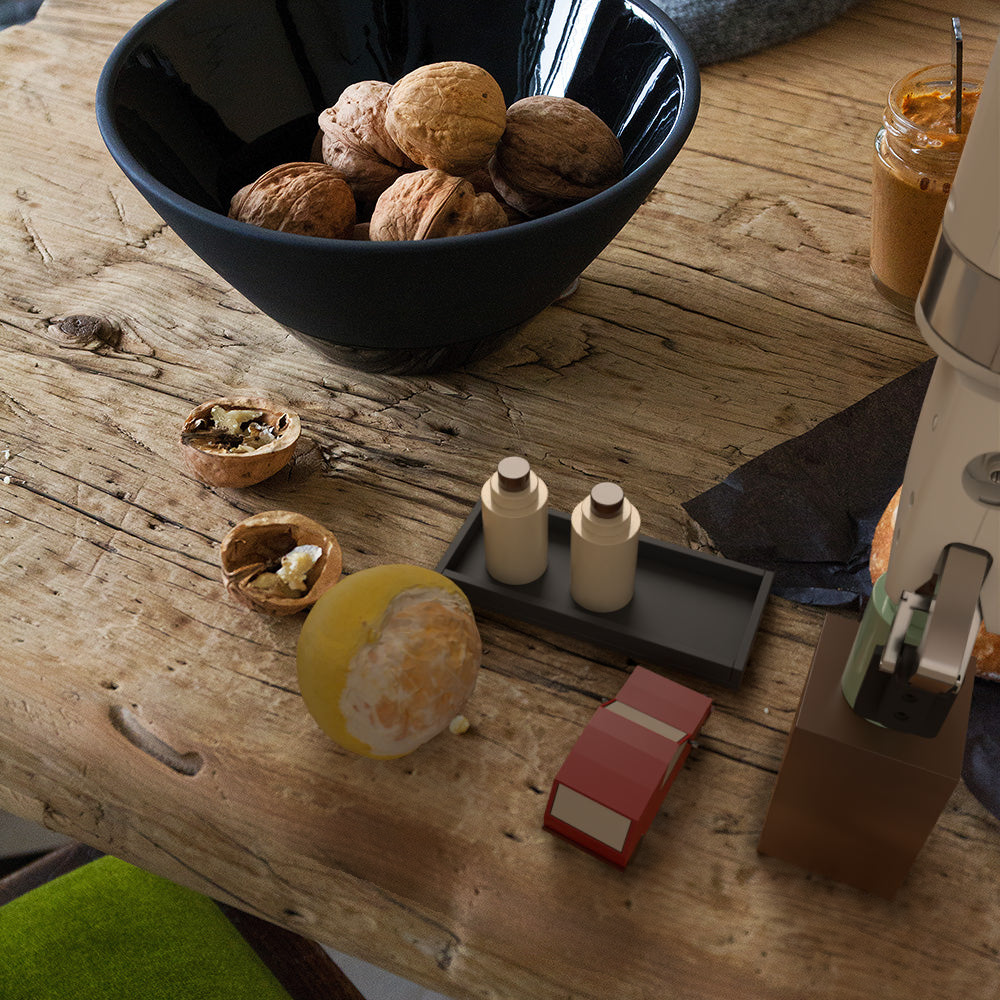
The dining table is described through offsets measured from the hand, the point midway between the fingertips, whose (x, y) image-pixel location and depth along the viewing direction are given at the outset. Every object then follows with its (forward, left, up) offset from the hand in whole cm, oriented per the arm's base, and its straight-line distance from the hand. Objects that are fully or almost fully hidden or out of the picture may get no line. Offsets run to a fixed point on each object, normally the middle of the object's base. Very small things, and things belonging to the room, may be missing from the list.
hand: (911, 631), depth 44 cm
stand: (0, 0, -16) cm, 16 cm away
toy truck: (+11, +2, -17) cm, 20 cm away
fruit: (+25, +3, -17) cm, 30 cm away
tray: (+17, -10, -16) cm, 26 cm away
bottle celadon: (0, 0, -4) cm, 4 cm away
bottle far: (+23, -10, -16) cm, 30 cm away
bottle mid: (+17, -10, -16) cm, 25 cm away
